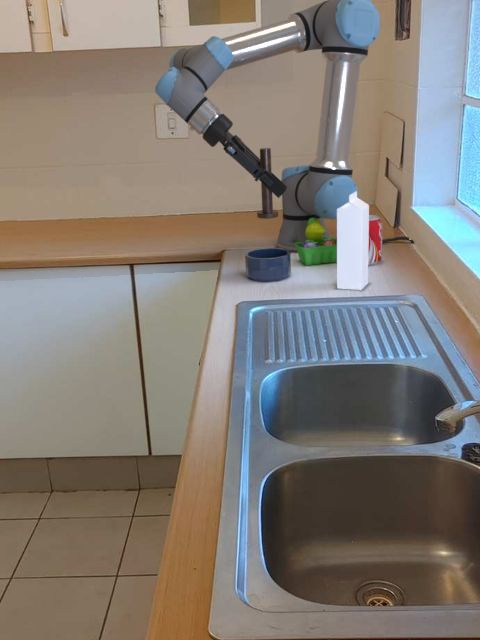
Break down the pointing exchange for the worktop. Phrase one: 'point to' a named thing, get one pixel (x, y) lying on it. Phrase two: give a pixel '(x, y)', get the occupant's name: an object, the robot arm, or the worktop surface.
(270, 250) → the bowl
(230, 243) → the worktop surface
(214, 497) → the worktop surface
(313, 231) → the fruit basket
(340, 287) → the milk
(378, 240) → the soda can
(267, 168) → the brown post with base
